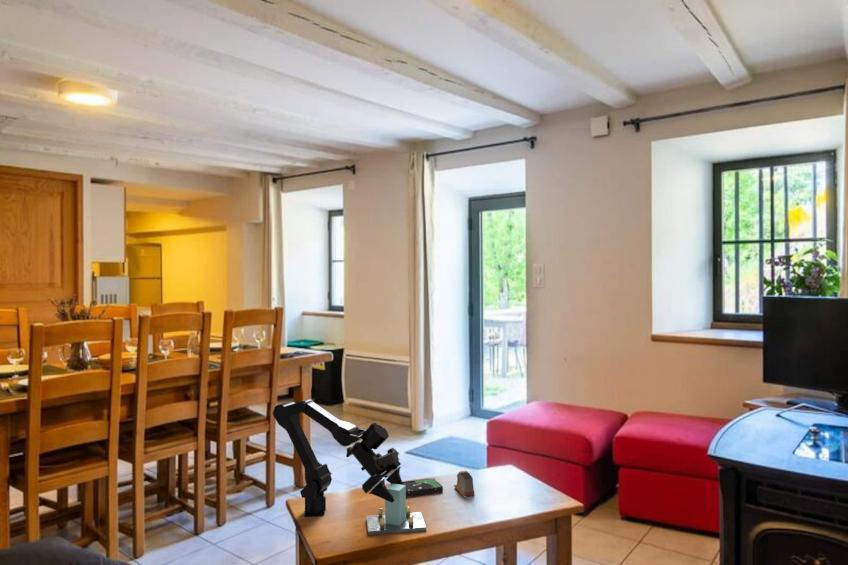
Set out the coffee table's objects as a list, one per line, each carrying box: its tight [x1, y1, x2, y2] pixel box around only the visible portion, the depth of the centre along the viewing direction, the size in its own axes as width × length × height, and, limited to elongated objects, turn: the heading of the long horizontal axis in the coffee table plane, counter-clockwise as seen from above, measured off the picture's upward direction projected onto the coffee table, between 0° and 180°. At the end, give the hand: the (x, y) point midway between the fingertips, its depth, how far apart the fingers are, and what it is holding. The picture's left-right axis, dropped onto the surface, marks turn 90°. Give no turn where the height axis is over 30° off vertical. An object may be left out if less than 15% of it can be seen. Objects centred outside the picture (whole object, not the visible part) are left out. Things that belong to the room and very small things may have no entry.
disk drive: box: [402, 478, 444, 498], centre depth 214 cm, size 10×3×15 cm
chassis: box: [365, 505, 427, 536], centre depth 184 cm, size 18×12×4 cm, turn 98°
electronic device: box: [453, 470, 475, 498], centre depth 212 cm, size 4×10×8 cm, turn 19°
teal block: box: [384, 483, 407, 526], centre depth 184 cm, size 5×5×11 cm
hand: (399, 496), depth 183 cm, fingers open, 9 cm apart
